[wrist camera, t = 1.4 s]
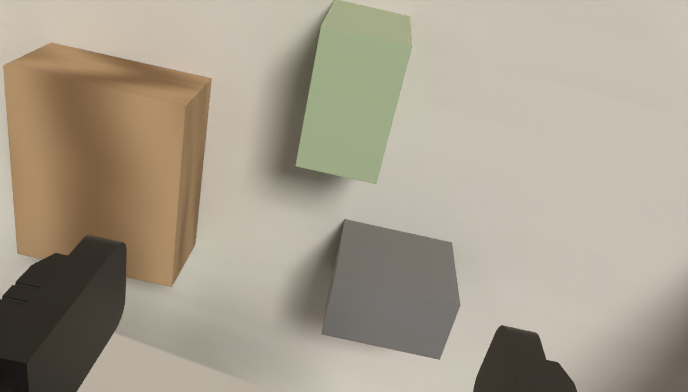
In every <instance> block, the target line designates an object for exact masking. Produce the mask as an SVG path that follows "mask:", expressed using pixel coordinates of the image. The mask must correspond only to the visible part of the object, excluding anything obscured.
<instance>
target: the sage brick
mask: <svg viewBox="0 0 688 392" xmlns="http://www.w3.org/2000/svg"><path fill="white" fill-rule="evenodd" d="M411 48H412V38H411V22H410V16H407V15H402V14H398V13H394V12H389V11H385V10H380V9H376V8H372V7H367V6H363V5H359V4H354V3H350V2H345V1H341V0H335V1H334V2H333V4H332V6H331V8H330V10H329V12H328V14H327V15H326V17H325V19H324V21H323V23H322V25H321V29H320V34H319V40H318V45H317V51H316V56H315V61H314V67H313V72H312V78H311V83H310V89H309V94H308V100H307V105H306V111H305V116H304V122H303V127H302V133H301V138H300V144H299V149H298V155H297V160H296V167H301V168H305V169H310V170H314V171H319V172H323V173H328V174H332V175H337V176H341V177H346V178H350V179H355V180H359V181H364V182H368V183H373V184H376V183H377V179H378V175H379V171H380V167H381V163H382V160H383V156H384V152H385V148H386V144H387V140H388V136H389V133H390V129H391V125H392V121H393V117H394V113H395V110H396V106H397V102H398V98H399V94H400V90H401V86H402V83H403V79H404V75H405V71H406V67H407V63H408V60H409V56H410V52H411Z"/></svg>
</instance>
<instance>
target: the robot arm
mask: <svg viewBox="0 0 688 392" xmlns="http://www.w3.org/2000/svg"><path fill="white" fill-rule="evenodd" d="M126 259H127V249H126V244H125V243H124V242H120V241H115V240H111V239H106V238H101V237H97V236H92V235H87V236H85V237H84V238H83V239H82V240H81V241H80V242H79V244H78V245H77V246H76V247H75V248H74V249H73V250H72V252H71V253H70V254H69V255H63V254H59V253H54V254H52V255H50V256H48V257H46V258H45V259H43V260H41V261H39V262H37V263H35V264H33V265H31V266H30V267H29V269H28V270H27V271H26V272H25V273H24V274H23V275H22V276H21V277H20V278H19V279H18V280H17V281H16V284H15V286H14V285H12V286H11V287H10V288H9V290H8V291H7V292H6V293H5V294H4V295H3V297H2V300H0V392H77V390H78V388H79V387H80V385H81V384H82V382H83V381H84V379H85V377H86V376H87V374H88V373H89V371H90V370H91V368H92V366H93V365H94V363H95V362H96V360H97V358H98V357H99V355H100V354H101V352H102V350H103V349H104V347H105V346H106V344H107V343H108V341H109V339H110V338H111V336H112V335H113V333H114V332H115V330H116V328H117V326H118V324H119V322H120V319H121V317H122V313H123V310H124V305H125V291H126ZM473 392H577V390H576V387H575V384H574V382H573V381H572V380H571V378H570V377H569V376H568V374H567V373H566V372H565V371H564V369H563V368H562V367H561V365H560V364H559V363H558V362H554V361H549V360H546V357H545V354H544V351H543V347H542V344H541V341H540V338H539V335H538V334H537V333H535V332H530V331H526V330H521V329H517V328H512V327H507V326H503V325H502V326H500V327H499V328H498V329H497V331H496V333H495V335H494V337H493V340H492V342H491V344H490V347H489V349H488V351H487V354H486V356H485V358H484V361H483V363H482V365H481V368H480V370H479V372H478V375H477V377H476V381H475V385H474V391H473Z"/></svg>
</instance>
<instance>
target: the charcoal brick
mask: <svg viewBox="0 0 688 392" xmlns="http://www.w3.org/2000/svg"><path fill="white" fill-rule="evenodd" d="M459 307H460V300H459V292H458V285H457V278H456V270H455V263H454V256H453V248H452V243H451V242H446V241H442V240H437V239H433V238H428V237H424V236H419V235H415V234H410V233H405V232H401V231H396V230H392V229H387V228H383V227H378V226H374V225H369V224H364V223H360V222H355V221H351V220H346V219H345V221H344V225H343V229H342V233H341V237H340V242H339V246H338V250H337V254H336V258H335V263H334V267H333V271H332V277H331V283H330V288H329V294H328V300H327V305H326V311H325V317H324V322H323V328H322V334H323V335H328V336H333V337H337V338H342V339H346V340H351V341H356V342H360V343H365V344H370V345H374V346H379V347H384V348H388V349H393V350H397V351H402V352H407V353H411V354H416V355H421V356H425V357H430V358H435V359H439V360H440V357H441V355H442V352H443V350H444V347H445V344H446V342H447V339H448V336H449V334H450V331H451V328H452V326H453V323H454V321H455V318H456V315H457V313H458V310H459Z"/></svg>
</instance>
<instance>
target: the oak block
mask: <svg viewBox="0 0 688 392" xmlns="http://www.w3.org/2000/svg"><path fill="white" fill-rule="evenodd" d="M3 70H4V83H5V96H6V109H7V122H8V135H9V148H10V161H11V174H12V187H13V201H14V214H15V227H16V240H17V253H18V254H22V255H26V256H31V257H35V258H40V259H45V258H46V257H48V256H50V255H52V254H54V253H59V254H63V255H69V254H70V253H71V252H72V250H73V249H74V248H75V247H76V246H77V245H78V244H79V242H80V241H81V240H82V239H83V238H84V237H85V236H87V235H92V236H97V237H101V238H106V239H111V240H115V241H120V242H124V243H125V244H126V249H127V259H126V277H128V278H133V279H138V280H142V281H147V282H152V283H156V284H161V285H165V286H170V287H172V285H173V283H174V282H175V280H176V278H177V276H178V274H179V273H180V271H181V269H182V267H183V265H184V264H185V262H186V260H187V258H188V257H189V255H190V253H191V251H192V249H193V248H194V246H195V241H196V231H197V221H198V211H199V200H200V190H201V180H202V170H203V160H204V149H205V139H206V129H207V119H208V109H209V98H210V88H211V78H206V77H202V76H198V75H193V74H189V73H184V72H180V71H175V70H171V69H166V68H162V67H157V66H153V65H148V64H144V63H139V62H135V61H130V60H126V59H121V58H117V57H112V56H108V55H104V54H99V53H95V52H90V51H86V50H81V49H77V48H72V47H68V46H63V45H59V44H54V43H50V44H47V45H45V46H43V47H41V48H39V49H37V50H35V51H33V52H31V53H28V54H26V55H24V56H22V57H20V58H18V59H16V60H14V61H12V62H10V63H7V64H5V65H3Z"/></svg>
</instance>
